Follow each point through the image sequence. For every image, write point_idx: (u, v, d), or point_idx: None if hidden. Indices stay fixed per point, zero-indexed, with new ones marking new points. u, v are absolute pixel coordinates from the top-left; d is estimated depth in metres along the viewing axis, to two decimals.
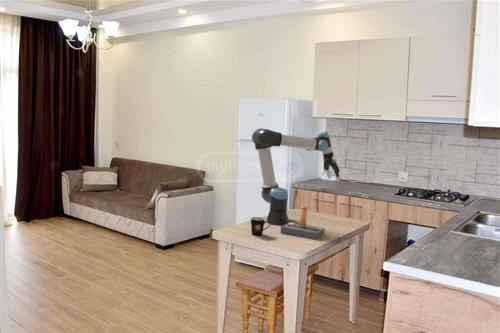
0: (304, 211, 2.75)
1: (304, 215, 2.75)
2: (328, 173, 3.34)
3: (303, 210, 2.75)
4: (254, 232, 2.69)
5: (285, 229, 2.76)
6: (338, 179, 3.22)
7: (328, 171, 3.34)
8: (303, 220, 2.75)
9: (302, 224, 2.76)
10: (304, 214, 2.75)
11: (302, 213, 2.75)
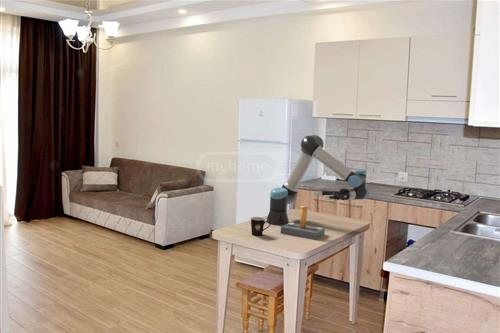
0: (304, 211, 2.75)
1: (304, 215, 2.75)
2: (318, 193, 2.87)
3: (303, 210, 2.75)
4: (254, 232, 2.69)
5: (285, 229, 2.76)
6: (326, 197, 2.74)
7: (320, 194, 2.88)
8: (303, 220, 2.75)
9: (302, 224, 2.76)
10: (304, 214, 2.75)
11: (302, 213, 2.75)
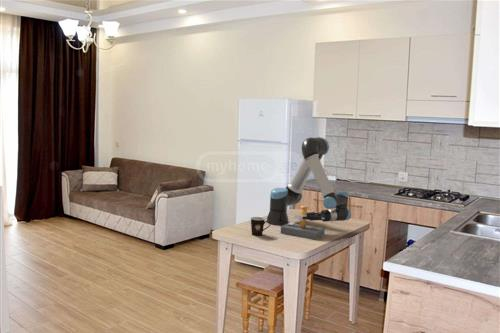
0: (304, 211, 2.75)
1: None
2: (299, 215, 2.78)
3: (303, 210, 2.75)
4: (254, 232, 2.69)
5: (285, 229, 2.76)
6: (299, 218, 2.73)
7: (301, 216, 2.79)
8: (303, 220, 2.75)
9: (302, 224, 2.76)
10: (304, 214, 2.75)
11: (302, 213, 2.75)
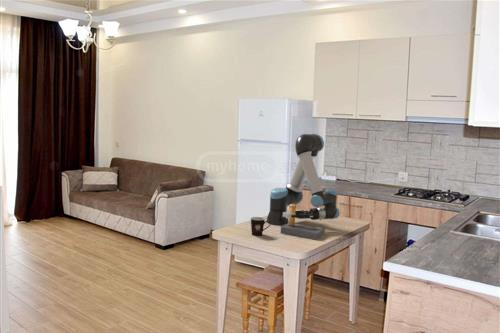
0: (293, 209, 2.78)
1: (293, 213, 2.79)
2: (288, 214, 2.81)
3: (292, 208, 2.78)
4: (254, 232, 2.69)
5: (285, 229, 2.76)
6: (288, 216, 2.76)
7: None
8: (292, 218, 2.79)
9: (291, 222, 2.79)
10: (293, 212, 2.78)
11: (291, 211, 2.79)
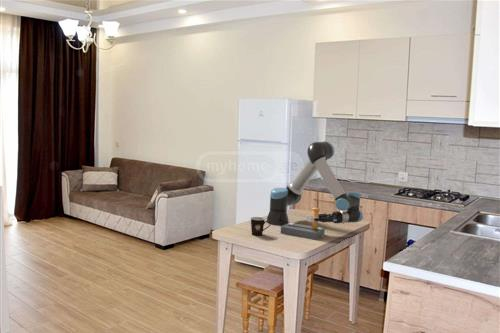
0: (316, 213, 2.71)
1: None
2: None
3: (315, 212, 2.71)
4: (254, 232, 2.69)
5: (285, 229, 2.76)
6: (311, 219, 2.69)
7: None
8: (315, 222, 2.72)
9: (314, 226, 2.72)
10: (316, 216, 2.71)
11: (314, 215, 2.72)
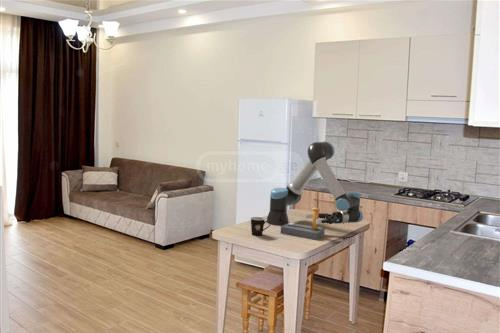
0: (316, 213, 2.71)
1: (316, 217, 2.71)
2: (310, 215, 2.79)
3: (315, 212, 2.71)
4: (254, 232, 2.69)
5: (285, 229, 2.76)
6: (318, 221, 2.66)
7: (312, 216, 2.80)
8: (315, 222, 2.72)
9: (314, 226, 2.72)
10: (316, 216, 2.71)
11: (314, 215, 2.72)
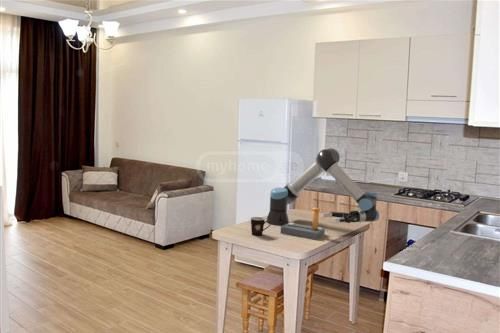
0: (316, 213, 2.71)
1: (316, 217, 2.71)
2: (328, 215, 2.84)
3: (315, 212, 2.71)
4: (254, 232, 2.69)
5: (285, 229, 2.76)
6: (336, 220, 2.71)
7: (330, 215, 2.85)
8: (315, 222, 2.72)
9: (314, 226, 2.72)
10: (316, 216, 2.71)
11: (314, 215, 2.72)
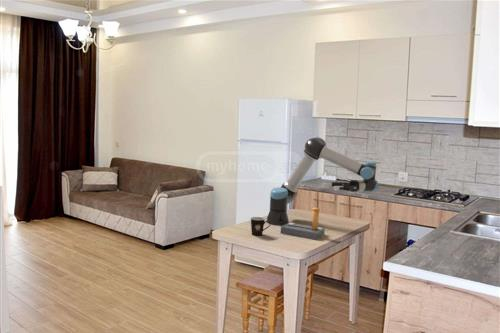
0: (316, 213, 2.71)
1: (316, 217, 2.71)
2: (328, 184, 2.88)
3: (315, 212, 2.71)
4: (254, 232, 2.69)
5: (285, 229, 2.76)
6: (336, 188, 2.75)
7: (330, 185, 2.89)
8: (315, 222, 2.72)
9: (314, 226, 2.72)
10: (316, 216, 2.71)
11: (314, 215, 2.72)
